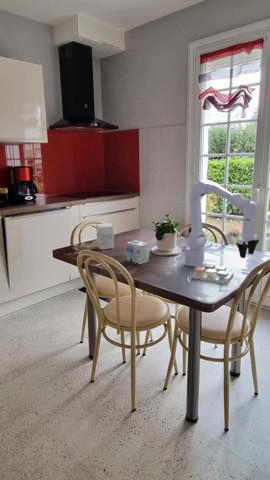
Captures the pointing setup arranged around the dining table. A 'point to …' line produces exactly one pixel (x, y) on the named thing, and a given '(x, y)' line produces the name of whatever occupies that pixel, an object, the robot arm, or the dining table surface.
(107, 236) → the supplement box
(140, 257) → the light bulb box
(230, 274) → the light grey tray
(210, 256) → the dining table surface
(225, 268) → the sage key
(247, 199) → the robot arm
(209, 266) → the grey key
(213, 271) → the cream key
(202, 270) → the terracotta key
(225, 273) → the slate blue key
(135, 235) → the dining table surface
